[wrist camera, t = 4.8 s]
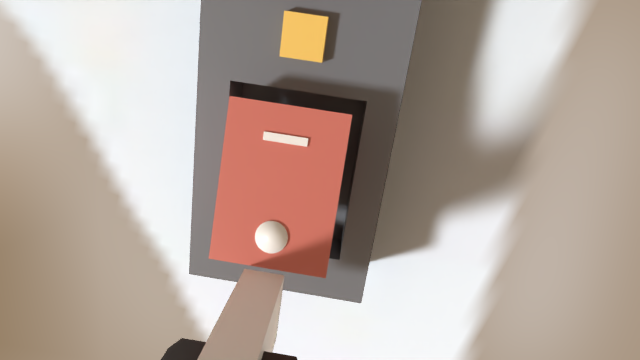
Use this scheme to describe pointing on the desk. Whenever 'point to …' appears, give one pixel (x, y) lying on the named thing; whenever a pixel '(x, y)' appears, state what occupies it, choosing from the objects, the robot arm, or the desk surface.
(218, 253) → the rocker
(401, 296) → the desk surface
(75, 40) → the desk surface
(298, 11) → the power strip
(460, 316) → the desk surface
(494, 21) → the desk surface
